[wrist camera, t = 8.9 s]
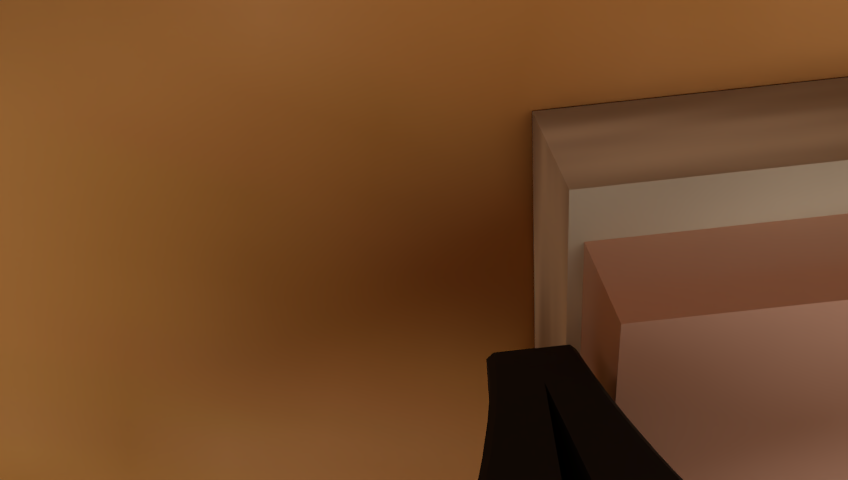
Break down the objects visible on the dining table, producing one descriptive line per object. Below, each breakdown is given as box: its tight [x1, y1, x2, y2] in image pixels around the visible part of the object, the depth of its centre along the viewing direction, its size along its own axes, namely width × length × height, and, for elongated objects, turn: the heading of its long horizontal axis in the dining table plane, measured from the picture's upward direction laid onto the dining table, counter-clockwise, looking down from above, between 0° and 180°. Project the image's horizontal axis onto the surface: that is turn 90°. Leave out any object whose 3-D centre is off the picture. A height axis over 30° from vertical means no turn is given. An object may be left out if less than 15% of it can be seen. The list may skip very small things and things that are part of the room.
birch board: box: [532, 77, 848, 354], centre depth 15 cm, size 12×10×3 cm
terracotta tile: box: [580, 213, 848, 480], centre depth 11 cm, size 4×4×2 cm
